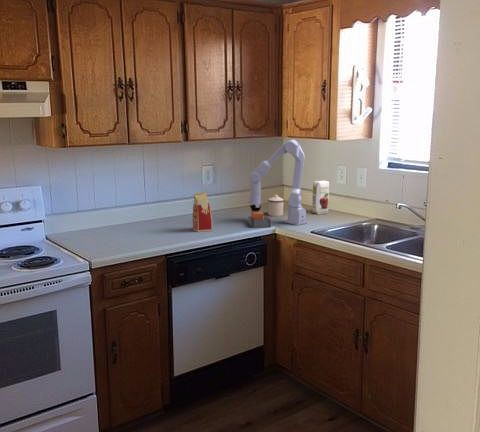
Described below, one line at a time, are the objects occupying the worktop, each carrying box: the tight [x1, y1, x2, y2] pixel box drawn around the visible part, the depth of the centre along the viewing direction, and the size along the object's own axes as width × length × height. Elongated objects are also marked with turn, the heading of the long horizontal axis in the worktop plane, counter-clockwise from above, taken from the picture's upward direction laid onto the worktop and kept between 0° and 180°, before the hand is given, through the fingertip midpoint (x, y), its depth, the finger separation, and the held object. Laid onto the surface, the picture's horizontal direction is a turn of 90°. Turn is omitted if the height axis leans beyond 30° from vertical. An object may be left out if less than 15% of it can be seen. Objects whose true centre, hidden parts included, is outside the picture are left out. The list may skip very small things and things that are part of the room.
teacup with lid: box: [267, 194, 285, 217], centre depth 306 cm, size 12×9×12 cm
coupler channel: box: [247, 215, 271, 229], centre depth 277 cm, size 10×10×4 cm
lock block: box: [251, 210, 264, 220], centre depth 283 cm, size 8×5×6 cm, turn 8°
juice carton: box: [311, 179, 330, 216], centre depth 309 cm, size 8×9×19 cm
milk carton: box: [192, 189, 213, 233], centre depth 266 cm, size 9×9×20 cm
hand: (255, 218), depth 289 cm, fingers closed
